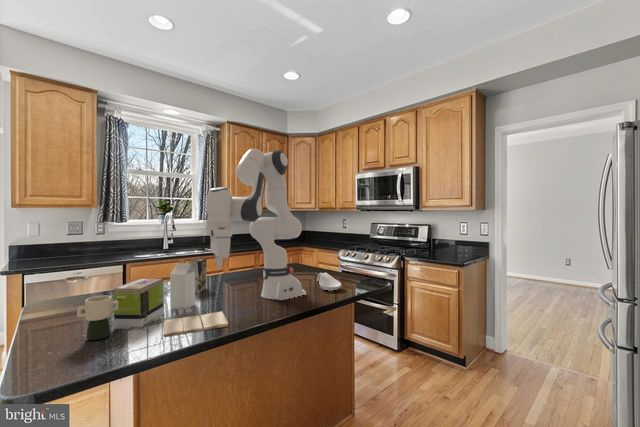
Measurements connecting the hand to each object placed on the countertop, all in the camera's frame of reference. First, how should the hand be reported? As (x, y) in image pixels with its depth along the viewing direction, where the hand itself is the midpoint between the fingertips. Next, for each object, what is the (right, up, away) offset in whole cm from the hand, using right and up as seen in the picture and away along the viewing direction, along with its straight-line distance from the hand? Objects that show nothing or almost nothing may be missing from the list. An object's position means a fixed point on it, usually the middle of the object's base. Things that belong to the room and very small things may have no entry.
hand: (219, 266), depth 113 cm
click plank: (-1, -21, -2) cm, 21 cm away
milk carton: (-21, -21, +17) cm, 34 cm away
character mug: (-34, -21, -16) cm, 43 cm away
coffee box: (-26, -21, +44) cm, 56 cm away
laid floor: (-11, -21, -7) cm, 24 cm away
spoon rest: (+42, -21, +53) cm, 71 cm away
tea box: (-29, -21, -1) cm, 36 cm away
